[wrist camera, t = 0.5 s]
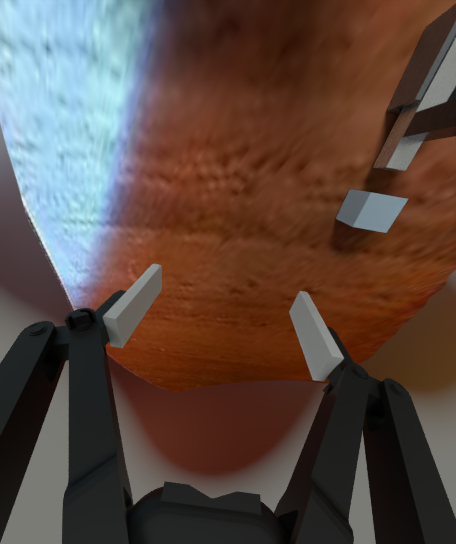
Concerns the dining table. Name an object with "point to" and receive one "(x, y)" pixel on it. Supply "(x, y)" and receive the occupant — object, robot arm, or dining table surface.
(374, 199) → the socket
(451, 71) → the gray bent bar
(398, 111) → the open u-shaped channel
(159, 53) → the dining table surface
